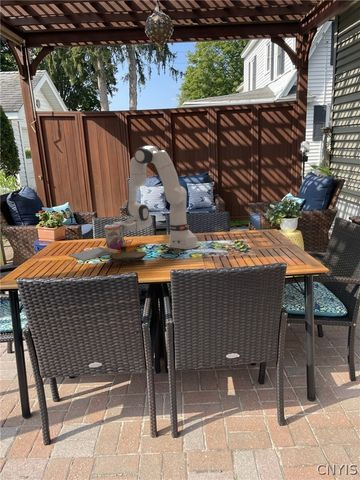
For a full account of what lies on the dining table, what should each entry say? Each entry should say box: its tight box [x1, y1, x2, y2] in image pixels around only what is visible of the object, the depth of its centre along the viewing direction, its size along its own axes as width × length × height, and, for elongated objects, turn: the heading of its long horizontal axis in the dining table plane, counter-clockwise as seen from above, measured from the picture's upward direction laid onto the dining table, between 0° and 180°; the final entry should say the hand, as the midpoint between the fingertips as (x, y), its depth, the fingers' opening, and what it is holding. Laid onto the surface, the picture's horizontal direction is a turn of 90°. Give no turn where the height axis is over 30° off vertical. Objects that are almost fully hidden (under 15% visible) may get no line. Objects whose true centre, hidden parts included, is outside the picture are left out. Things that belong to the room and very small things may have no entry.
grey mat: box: [68, 245, 118, 261], centre depth 235 cm, size 20×24×2 cm
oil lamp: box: [107, 243, 148, 264], centre depth 213 cm, size 22×30×8 cm
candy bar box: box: [103, 224, 126, 250], centre depth 242 cm, size 11×5×16 cm, turn 84°
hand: (114, 227), depth 243 cm, fingers closed
